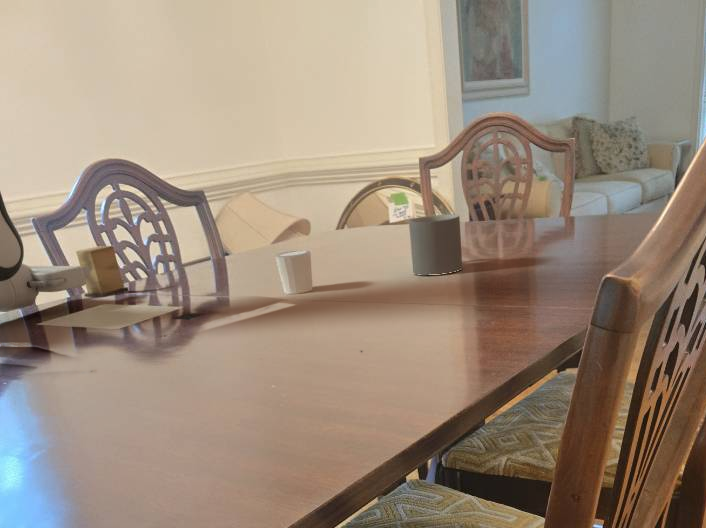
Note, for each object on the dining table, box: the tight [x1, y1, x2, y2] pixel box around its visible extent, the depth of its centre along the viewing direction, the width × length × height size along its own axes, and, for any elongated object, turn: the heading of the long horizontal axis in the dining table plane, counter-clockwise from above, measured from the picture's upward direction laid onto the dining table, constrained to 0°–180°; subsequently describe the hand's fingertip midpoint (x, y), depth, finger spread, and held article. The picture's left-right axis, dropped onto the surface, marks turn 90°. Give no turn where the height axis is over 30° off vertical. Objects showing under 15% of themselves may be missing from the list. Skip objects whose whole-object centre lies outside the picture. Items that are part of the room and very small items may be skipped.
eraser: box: [76, 245, 129, 298], centre depth 162 cm, size 6×7×10 cm
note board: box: [35, 303, 184, 330], centre depth 142 cm, size 22×16×1 cm
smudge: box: [171, 312, 204, 321], centre depth 134 cm, size 4×4×1 cm
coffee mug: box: [408, 213, 463, 275], centre depth 154 cm, size 13×10×10 cm
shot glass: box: [274, 250, 314, 295], centre depth 149 cm, size 7×7×7 cm
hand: (72, 270), depth 156 cm, fingers open, 8 cm apart
